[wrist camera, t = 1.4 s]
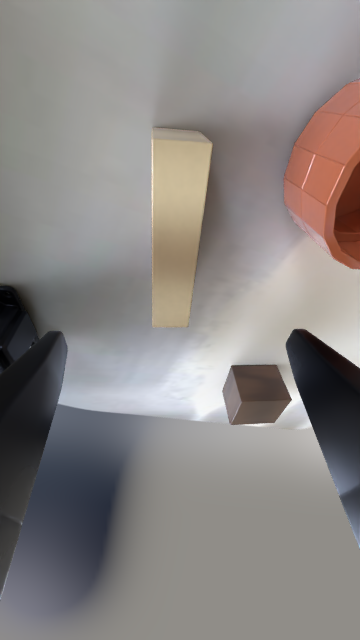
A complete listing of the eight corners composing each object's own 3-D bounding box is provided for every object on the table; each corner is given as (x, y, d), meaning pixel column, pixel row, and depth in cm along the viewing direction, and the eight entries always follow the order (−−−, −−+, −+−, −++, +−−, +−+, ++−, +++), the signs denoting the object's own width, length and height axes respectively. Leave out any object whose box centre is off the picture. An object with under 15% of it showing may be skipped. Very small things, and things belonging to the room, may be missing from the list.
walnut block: (222, 390, 32) (230, 425, 29) (231, 365, 28) (241, 401, 25) (262, 389, 33) (274, 423, 29) (276, 364, 29) (292, 399, 26)
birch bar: (183, 294, 21) (188, 327, 18) (152, 293, 20) (152, 327, 18) (200, 130, 13) (213, 143, 10) (151, 126, 13) (151, 138, 10)
